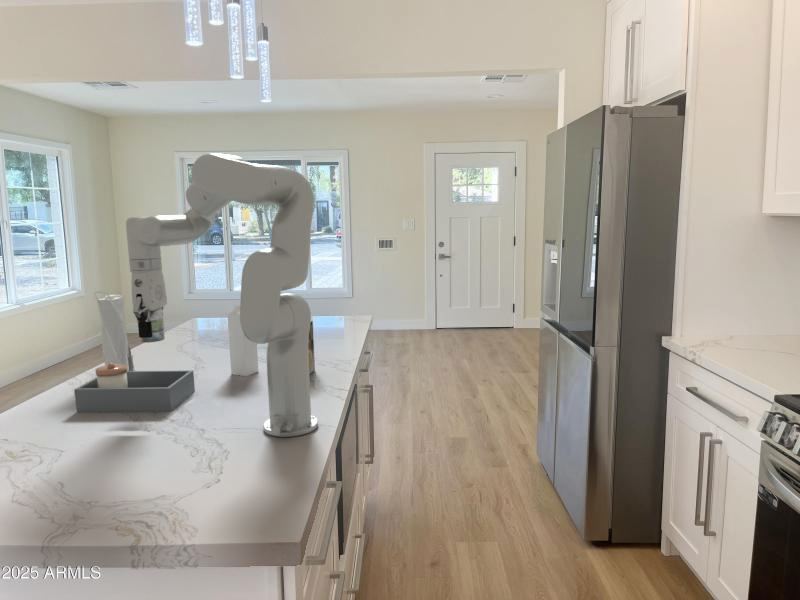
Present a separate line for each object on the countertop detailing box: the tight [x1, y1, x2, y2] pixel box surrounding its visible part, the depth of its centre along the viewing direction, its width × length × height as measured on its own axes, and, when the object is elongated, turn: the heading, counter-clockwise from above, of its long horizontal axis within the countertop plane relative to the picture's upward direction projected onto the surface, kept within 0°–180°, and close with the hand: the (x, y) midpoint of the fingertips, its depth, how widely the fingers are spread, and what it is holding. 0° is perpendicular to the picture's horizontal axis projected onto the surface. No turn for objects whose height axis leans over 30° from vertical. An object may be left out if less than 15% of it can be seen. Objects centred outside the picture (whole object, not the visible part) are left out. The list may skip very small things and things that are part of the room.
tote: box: [74, 369, 196, 414], centre depth 151 cm, size 16×24×7 cm, turn 89°
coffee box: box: [308, 320, 316, 375], centre depth 176 cm, size 9×6×16 cm
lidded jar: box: [94, 363, 128, 388], centre depth 151 cm, size 7×7×10 cm
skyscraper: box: [93, 290, 136, 371], centre depth 170 cm, size 8×8×28 cm
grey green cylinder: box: [138, 308, 166, 344], centre depth 148 cm, size 6×6×8 cm
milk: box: [227, 303, 259, 377], centre depth 178 cm, size 6×6×22 cm
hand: (151, 333), depth 149 cm, fingers closed on grey green cylinder, 6 cm apart
